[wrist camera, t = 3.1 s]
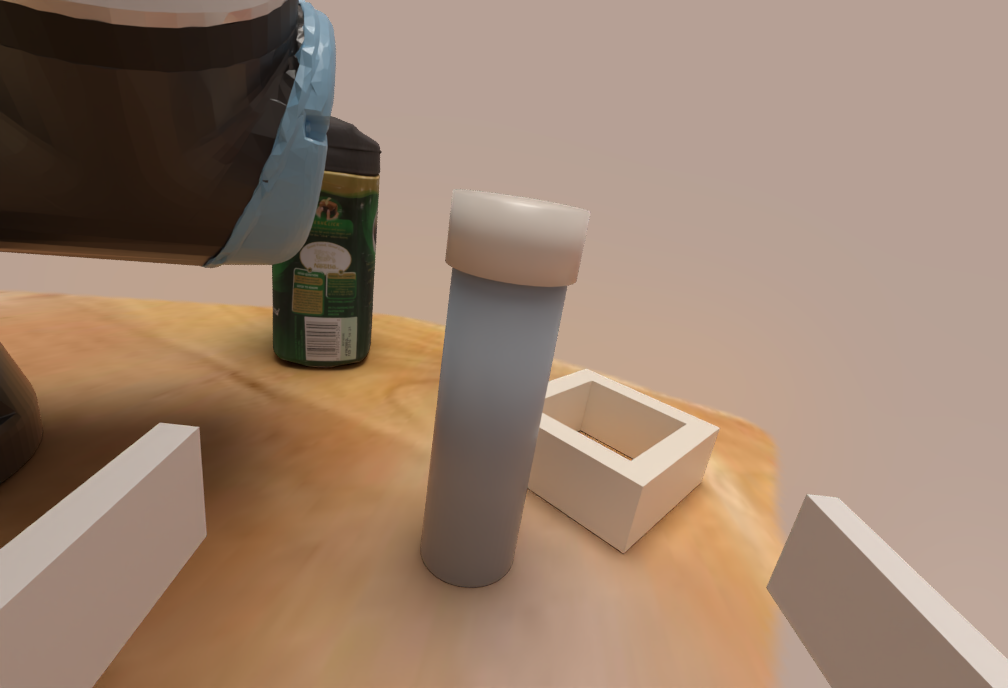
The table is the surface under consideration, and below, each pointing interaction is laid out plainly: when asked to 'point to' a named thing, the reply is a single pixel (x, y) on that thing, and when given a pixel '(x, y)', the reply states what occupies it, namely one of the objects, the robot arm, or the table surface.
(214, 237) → the robot arm
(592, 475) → the socket
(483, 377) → the blue and white cylinder
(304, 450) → the table surface
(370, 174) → the coffee jar
